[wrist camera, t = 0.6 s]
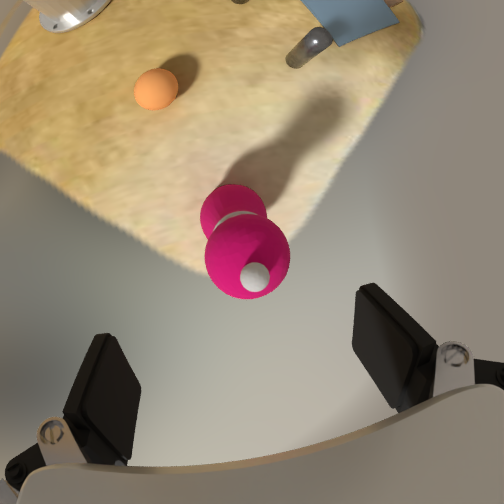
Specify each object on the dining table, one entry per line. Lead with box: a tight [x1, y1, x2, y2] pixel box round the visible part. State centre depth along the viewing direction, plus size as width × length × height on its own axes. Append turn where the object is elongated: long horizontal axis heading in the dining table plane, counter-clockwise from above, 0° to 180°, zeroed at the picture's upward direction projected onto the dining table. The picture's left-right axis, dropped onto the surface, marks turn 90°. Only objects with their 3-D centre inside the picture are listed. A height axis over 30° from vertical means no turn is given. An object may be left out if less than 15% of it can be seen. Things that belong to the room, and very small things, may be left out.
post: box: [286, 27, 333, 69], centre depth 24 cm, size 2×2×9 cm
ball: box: [134, 68, 178, 110], centre depth 26 cm, size 5×5×5 cm
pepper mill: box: [200, 184, 290, 299], centre depth 25 cm, size 7×7×20 cm
